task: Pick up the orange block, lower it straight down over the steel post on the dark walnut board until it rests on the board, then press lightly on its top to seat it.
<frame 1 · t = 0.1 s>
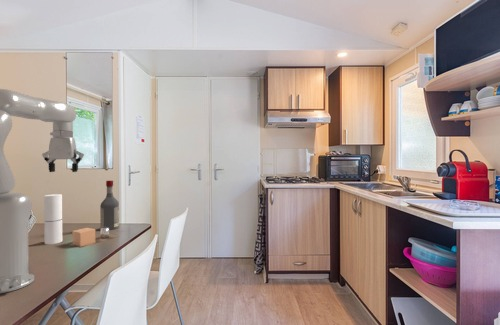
hand: (63, 171, 120), 37 cm above the table, tool pointing down, fingers open, 9 cm apart
board: (95, 243, 132), on the table
cylindrical container: (53, 245, 129), on the table
orange block: (84, 243, 127), point 1 cm above the table, touching board
liquor: (109, 230, 155), on the table
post: (104, 237, 137), resting on board
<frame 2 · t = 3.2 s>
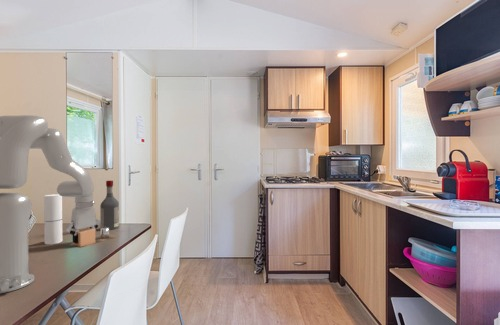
hand: (84, 240, 127), 3 cm above the table, tool pointing down, fingers closed on orange block, 7 cm apart
orange block: (84, 243, 127), point 1 cm above the table, touching board, gripper
everything else where it was.
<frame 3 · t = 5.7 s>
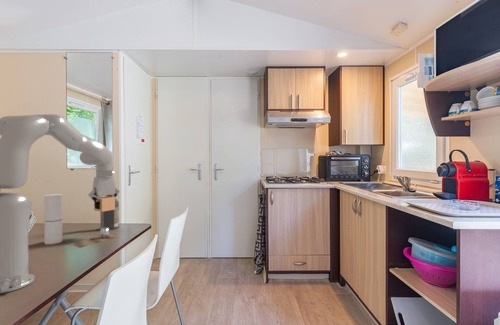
hand: (104, 207, 136), 18 cm above the table, tool pointing down, fingers closed on orange block, 7 cm apart
orange block: (104, 209, 137), point 16 cm above the table, touching gripper
everything else where it was.
when the fingers open (4 cm above the table, at t = 8.4 s): orange block stays where it is, resting on board.
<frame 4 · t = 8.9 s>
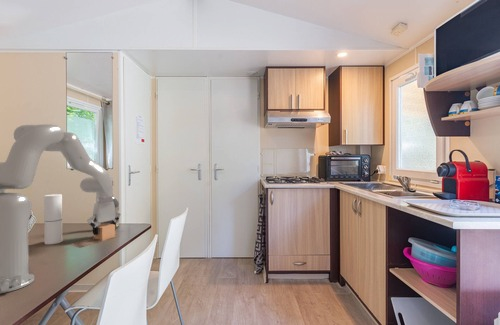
hand: (104, 232, 137), 4 cm above the table, tool pointing down, fingers open, 9 cm apart
orange block: (104, 237, 137), point 1 cm above the table, touching board
everything else where it was.
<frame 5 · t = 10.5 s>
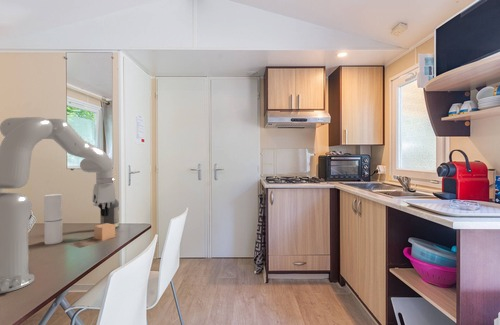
hand: (104, 215, 136), 13 cm above the table, tool pointing down, fingers closed
nothing on the table moved.
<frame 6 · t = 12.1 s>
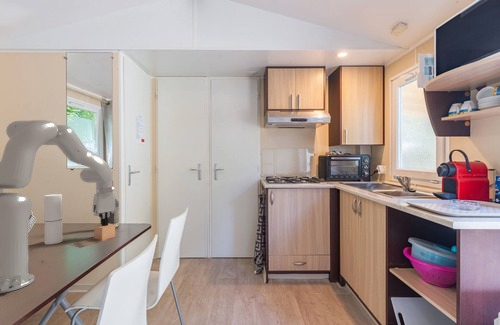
hand: (104, 225, 137), 8 cm above the table, tool pointing down, fingers closed
orange block: (104, 237, 137), point 1 cm above the table, touching board, gripper
everything else where it was.
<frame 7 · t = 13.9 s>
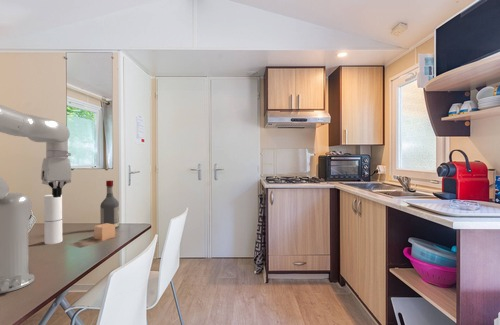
hand: (56, 196, 113), 27 cm above the table, tool pointing down, fingers closed
orange block: (104, 237, 137), point 1 cm above the table, touching board
everything else where it was.
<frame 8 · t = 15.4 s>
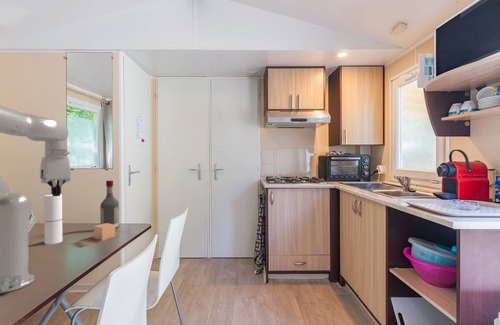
hand: (56, 195, 113), 27 cm above the table, tool pointing down, fingers closed
nothing on the table moved.
at the end: orange block 0.0 cm from the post (horizontally); orange block point 1.5 cm above the table; orange block tilted 0° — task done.
